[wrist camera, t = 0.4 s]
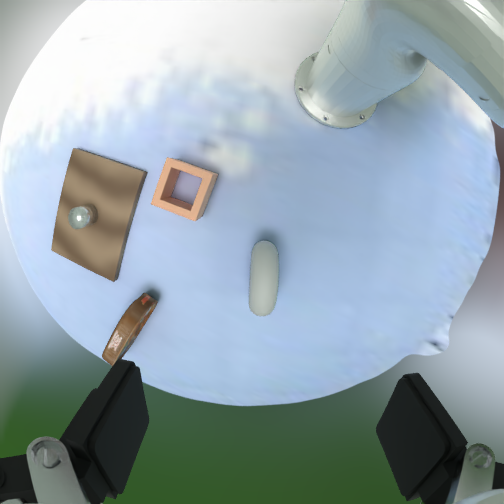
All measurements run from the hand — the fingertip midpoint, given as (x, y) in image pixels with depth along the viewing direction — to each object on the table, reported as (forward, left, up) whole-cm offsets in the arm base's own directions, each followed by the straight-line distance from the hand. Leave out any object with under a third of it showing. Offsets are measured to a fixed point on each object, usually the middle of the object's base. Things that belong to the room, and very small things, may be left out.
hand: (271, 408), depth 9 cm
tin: (+22, -14, -34) cm, 42 cm away
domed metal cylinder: (+7, -26, -32) cm, 41 cm away
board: (+7, -26, -33) cm, 42 cm away
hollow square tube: (-2, -12, -33) cm, 35 cm away
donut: (+5, +2, -33) cm, 34 cm away
